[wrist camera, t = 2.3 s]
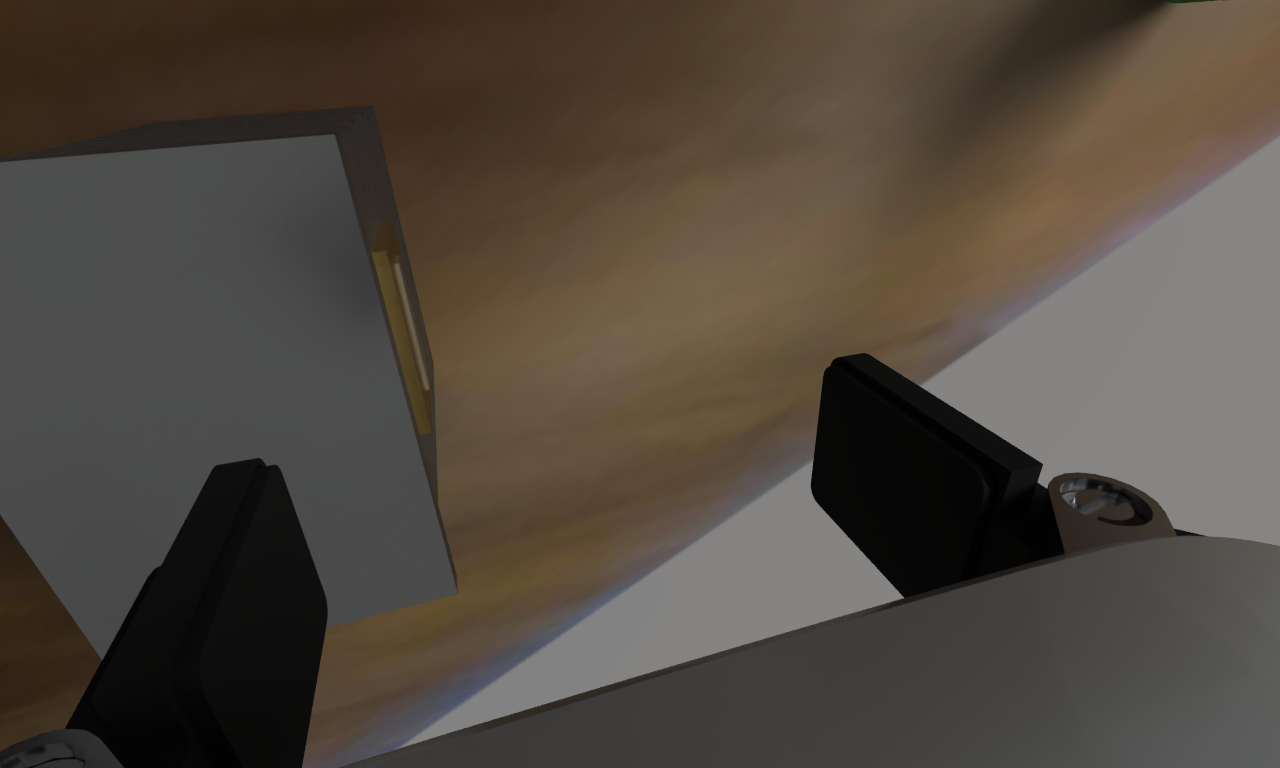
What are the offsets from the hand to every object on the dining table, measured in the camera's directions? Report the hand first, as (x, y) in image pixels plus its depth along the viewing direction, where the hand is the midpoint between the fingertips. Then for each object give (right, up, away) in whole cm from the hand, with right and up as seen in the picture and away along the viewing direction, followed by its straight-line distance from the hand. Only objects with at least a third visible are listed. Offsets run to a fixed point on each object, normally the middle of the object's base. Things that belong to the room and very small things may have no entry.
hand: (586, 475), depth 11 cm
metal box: (-14, +7, +17) cm, 23 cm away
